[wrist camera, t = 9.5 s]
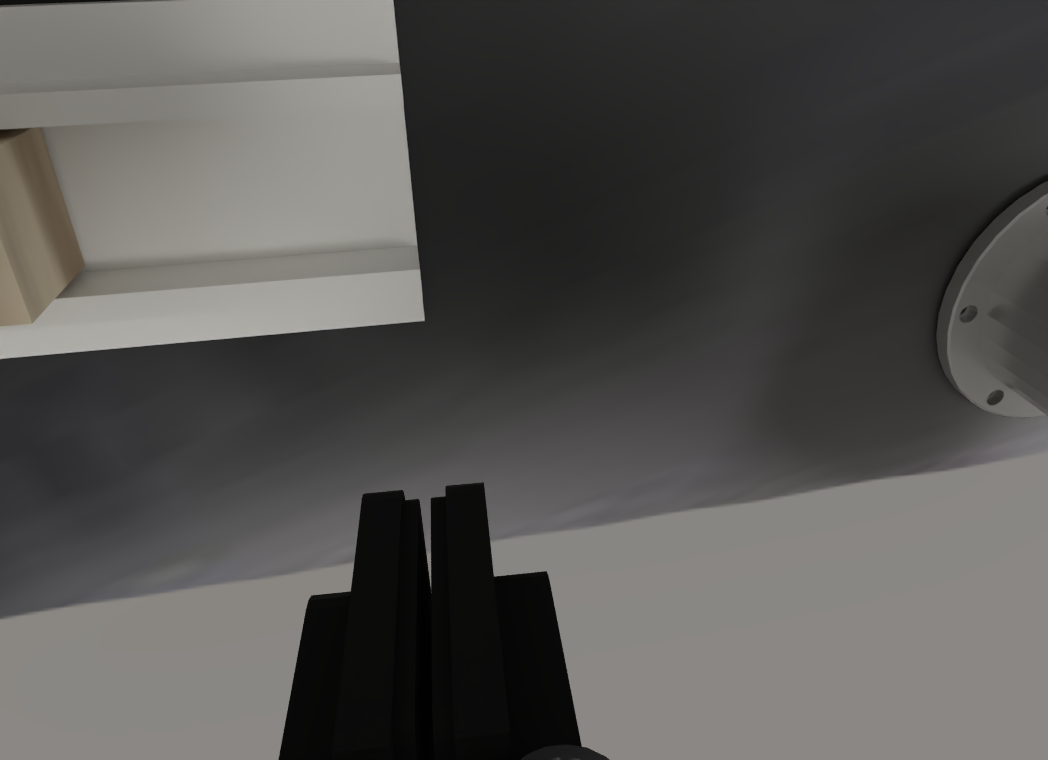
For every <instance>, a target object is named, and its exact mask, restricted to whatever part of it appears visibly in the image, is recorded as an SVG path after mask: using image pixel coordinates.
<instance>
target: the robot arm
mask: <svg viewBox="0 0 1048 760" xmlns="http://www.w3.org/2000/svg"><path fill="white" fill-rule="evenodd" d="M936 338H937V348H938V357H939V360H940V362H941V365H942V368H943V371H944V374H945V375H946V377H947V378H948V379H949V381H950V382H951V384H952V385H953V386H954V388H955V389H956V390H958V391H959V392H960V393H961V394H962V395H964V396H965V397H966V398H967V399H968V400H969V401H971V402H972V403H973V404H975V405H977V406H978V407H980V408H981V409H983V410H985V411H987V412H991V413H994V414H997V415H1001V416H1004V417H1017V418H1030V417H1039V416H1048V181H1046V182H1044V183H1042V184H1041V185H1039V186H1038V187H1036V188H1034V189H1033V190H1031V191H1030V192H1028V193H1027V194H1025V195H1024V196H1022V197H1020V198H1019V199H1018V200H1016V201H1015V202H1014V203H1013V204H1012V205H1010V206H1009V207H1008V208H1007V209H1006V210H1005V211H1003V212H1002V213H1001V214H1000V215H999V216H998V217H996V218H995V219H994V220H993V221H992V222H991V224H990V225H989V226H988V227H987V228H986V229H985V230H984V231H983V232H982V234H981V235H980V236H979V237H978V238H977V239H976V240H975V241H974V243H973V244H972V246H971V247H970V249H969V250H968V252H967V253H966V255H965V256H964V257H963V259H962V260H961V262H960V263H959V265H958V267H957V269H956V271H955V273H954V275H953V277H952V279H951V281H950V283H949V285H948V287H947V289H946V292H945V295H944V298H943V302H942V305H941V308H940V312H939V317H938V326H937V334H936ZM279 760H609V759H608V758H607V757H605V756H603V755H601V754H599V753H597V752H595V751H593V750H591V749H589V748H586V747H582V746H581V741H580V736H579V730H578V726H577V720H576V715H575V710H574V705H573V700H572V694H571V689H570V684H569V679H568V674H567V669H566V663H565V658H564V653H563V648H562V643H561V638H560V633H559V627H558V622H557V617H556V612H555V607H554V601H553V596H552V591H551V586H550V581H549V577H548V574H547V572H535V573H527V574H516V575H506V576H497V577H494V574H493V565H492V555H491V546H490V536H489V527H488V517H487V508H486V499H485V489H484V482H483V483H473V484H462V485H451V486H446V496H445V497H435V498H431V587H430V580H429V571H428V563H427V555H426V547H425V539H424V531H423V523H422V516H421V508H420V501H419V499H414V500H405V496H404V492H403V490H398V491H387V492H377V493H366V494H363V497H362V503H361V511H360V520H359V528H358V537H357V545H356V553H355V562H354V571H353V579H352V587H351V592H342V593H333V594H322V595H313V596H311V598H310V599H309V601H308V604H307V609H306V613H305V619H304V624H303V630H302V635H301V640H300V646H299V652H298V657H297V663H296V668H295V673H294V679H293V684H292V690H291V696H290V701H289V706H288V711H287V717H286V722H285V728H284V733H283V739H282V745H281V750H280V756H279Z"/></svg>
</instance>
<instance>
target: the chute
mask: <svg viewBox="0 0 1048 760" xmlns="http://www.w3.org/2000/svg"><path fill="white" fill-rule="evenodd" d="M36 127H41V130H42V133H43V136H44V139H45V142H46V145H47V148H48V151H49V154H50V158H51V161H52V164H53V167H54V170H55V173H56V176H57V179H58V182H59V185H60V189H61V192H62V195H63V198H64V201H65V204H66V207H67V210H68V213H69V216H70V220H71V223H72V226H73V229H74V232H75V235H76V238H77V241H78V244H79V248H80V251H81V254H82V257H83V260H84V263H85V266H84V268H83V269H82V270H81V271H80V272H79V273H78V274H77V275H76V276H75V277H74V278H73V280H72V281H71V282H70V283H69V284H68V285H67V286H66V287H65V288H64V289H63V291H62V292H61V293H60V294H59V295H58V296H57V297H56V298H55V299H54V300H53V302H52V303H51V304H50V305H49V306H48V307H47V308H46V309H45V310H44V311H43V313H42V314H41V315H40V316H39V317H38V318H37V319H36V320H35V321H34V322H33V323H32V324H23V325H12V326H0V359H3V358H15V357H26V356H37V355H48V354H59V353H70V352H82V351H93V350H104V349H115V348H126V347H138V346H149V345H160V344H171V343H182V342H193V341H205V340H216V339H227V338H238V337H249V336H260V335H272V334H283V333H294V332H305V331H316V330H327V329H339V328H350V327H361V326H372V325H383V324H395V323H406V322H417V321H425V319H424V309H423V299H422V285H421V275H420V265H419V256H418V247H417V237H416V227H415V217H414V207H413V197H412V186H411V176H410V166H409V156H408V146H407V135H406V125H405V115H404V101H403V91H402V81H401V71H400V64H399V54H398V44H397V33H396V23H395V13H394V3H393V0H128V1H102V2H75V3H49V4H23V5H0V129H18V128H36Z"/></svg>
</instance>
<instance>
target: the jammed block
mask: <svg viewBox="0 0 1048 760" xmlns="http://www.w3.org/2000/svg"><path fill="white" fill-rule="evenodd" d="M84 266H85V263H84V260H83V257H82V254H81V251H80V248H79V244H78V241H77V238H76V235H75V232H74V229H73V226H72V223H71V220H70V216H69V213H68V210H67V207H66V204H65V201H64V198H63V195H62V192H61V189H60V185H59V182H58V179H57V176H56V173H55V170H54V167H53V164H52V161H51V158H50V154H49V151H48V148H47V145H46V142H45V139H44V136H43V133H42V130H41V127H36V128H18V129H0V326H12V325H23V324H32V323H33V322H34V321H35V320H36V319H37V318H38V317H39V316H40V315H41V314H42V313H43V311H44V310H45V309H46V308H47V307H48V306H49V305H50V304H51V303H52V302H53V300H54V299H55V298H56V297H57V296H58V295H59V294H60V293H61V292H62V291H63V289H64V288H65V287H66V286H67V285H68V284H69V283H70V282H71V281H72V280H73V278H74V277H75V276H76V275H77V274H78V273H79V272H80V271H81V270H82V269H83V268H84Z"/></svg>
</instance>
